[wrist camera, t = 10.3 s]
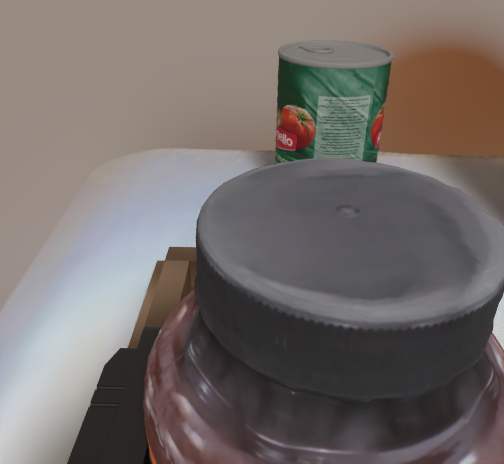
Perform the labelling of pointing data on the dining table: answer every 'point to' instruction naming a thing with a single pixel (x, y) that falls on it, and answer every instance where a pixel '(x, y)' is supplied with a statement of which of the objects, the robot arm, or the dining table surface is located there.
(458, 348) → the supplement bottle
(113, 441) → the robot arm
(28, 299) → the dining table surface
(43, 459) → the dining table surface
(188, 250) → the walnut dock
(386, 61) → the canned tomato
